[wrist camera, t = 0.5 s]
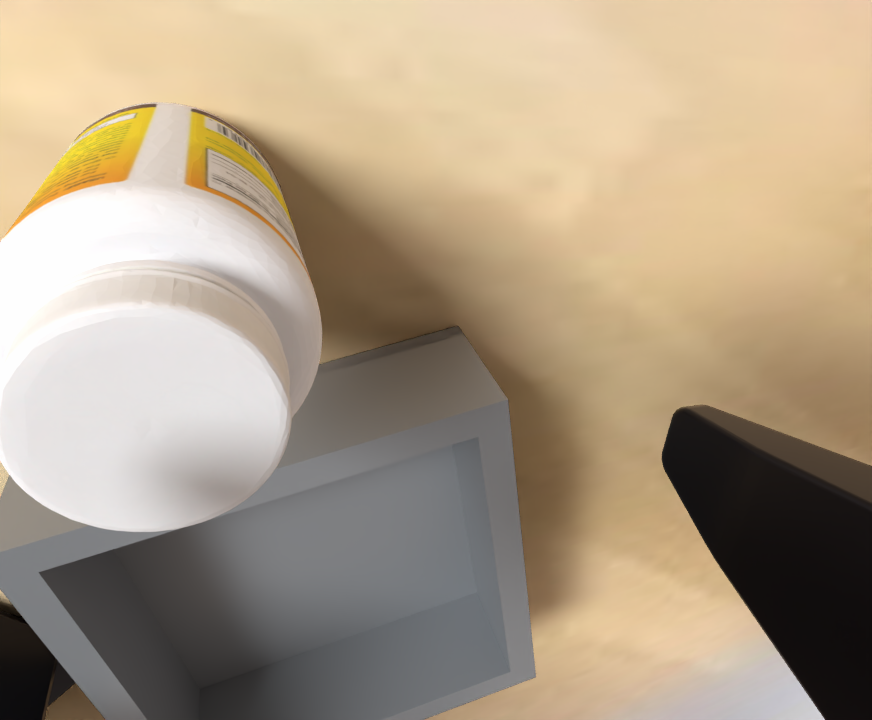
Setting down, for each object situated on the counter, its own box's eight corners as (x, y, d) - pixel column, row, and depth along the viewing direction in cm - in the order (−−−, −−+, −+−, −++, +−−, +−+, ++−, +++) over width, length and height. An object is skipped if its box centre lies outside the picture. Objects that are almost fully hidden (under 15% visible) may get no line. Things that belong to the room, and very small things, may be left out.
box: (495, 588, 30) (535, 676, 26) (183, 697, 27) (179, 811, 24) (457, 326, 22) (507, 399, 18) (20, 447, 20) (-24, 559, 16)
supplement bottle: (58, 287, 18) (-78, 579, 9) (61, 71, 15) (-119, 204, 7) (268, 312, 20) (310, 569, 11) (300, 126, 17) (383, 278, 9)
